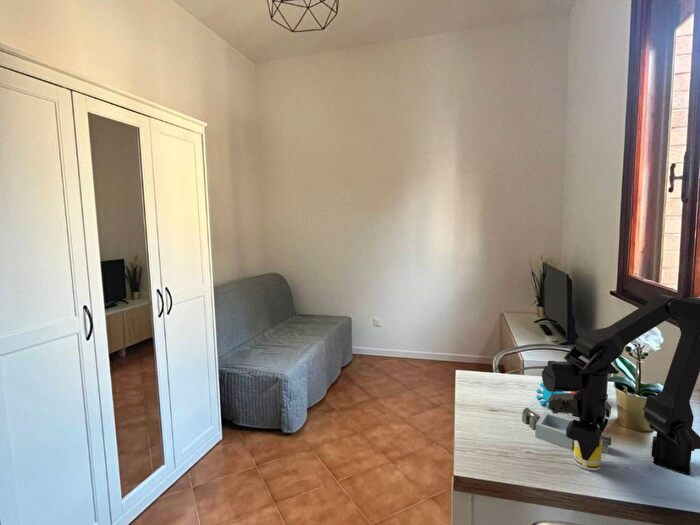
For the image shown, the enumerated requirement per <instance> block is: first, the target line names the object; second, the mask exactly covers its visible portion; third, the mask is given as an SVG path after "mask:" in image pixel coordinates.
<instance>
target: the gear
mask: <svg viewBox="0 0 700 525" xmlns="http://www.w3.org/2000/svg"><path fill="white" fill-rule="evenodd" d="M539 386H540V387H541V388H542V390H541V389H540V388H537V389H536V391H535V392H536V393H537V395H536V399H537V401H539V404H540V405H541V406H543V407H544V406H545V407H546V408H548V406H549V401H548V399H549V398H550V396H551V395H552V394H559V393H565V392H549V391H548V390H547V389H546V388H545V386H544V384H543V382H541V383H540V384H539ZM539 394H540V395H542V396H540V395H539ZM548 409H549V408H548Z"/></svg>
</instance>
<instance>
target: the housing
mask: <svg viewBox="0 0 700 525" xmlns="http://www.w3.org/2000/svg"><path fill="white" fill-rule="evenodd" d="M540 417H541V418H540V419H539V420H538V422H537V423H536V429H535V433H534V434H535V435H534V436H535V438H537V439H539V440H542V441H545V442H548V443H551V444H553V445H557V446H560V447H563V448H565V449H569V450H574V443H575V440H573V439H570V438H568V437H566V428H567V426H568V424H569V422H570V421H572V420H573V419H571V418H567V417H564V416H561V415H559V414H554V413H551V412H548V411H544V412H543V413H542V415H541V416H540Z"/></svg>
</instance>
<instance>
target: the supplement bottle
mask: <svg viewBox="0 0 700 525" xmlns="http://www.w3.org/2000/svg"><path fill="white" fill-rule="evenodd" d="M591 425H592V424H591ZM597 426H598V428H599V425H597ZM602 453H603V452H602V440H601V443H600V446H599V447H597V448H596V449H595V451H594V452H593V454H592V455H591V457H590V458H589V460H588V461H586V460H584V459H582V456H581V452H580V447H579V444H578V441H576V440H575V443H574V446H573V461H574V463H575V464H576V465H577V466H579V467H580V468H582V469H584V470H588V471H598V470H599V469H600V468H601V466H602V465H601V464H602V463H601V462H602Z"/></svg>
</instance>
